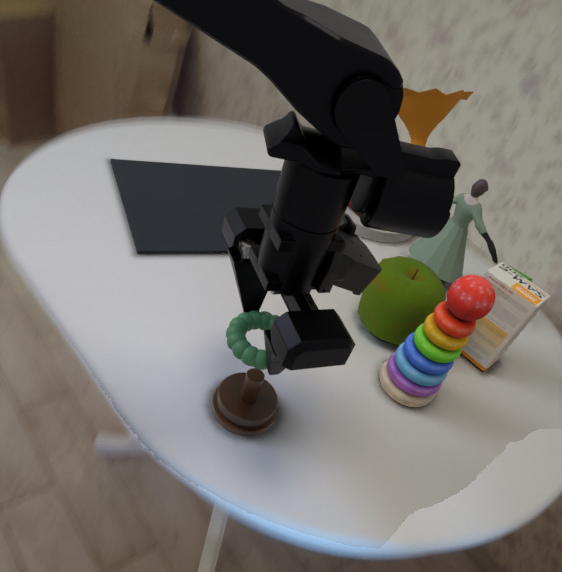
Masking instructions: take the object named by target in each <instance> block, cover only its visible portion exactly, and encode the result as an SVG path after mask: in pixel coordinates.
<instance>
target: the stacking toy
mask: <svg viewBox="0 0 562 572" xmlns="http://www.w3.org/2000/svg"><path fill="white" fill-rule="evenodd" d="M495 298H496V296H495V290H494V288H493V286H492V284H491V283H490V282H489V281H488V280H487V279H485V278H484V277H483V276H481V275H479V274H466V275H462V277H460V278H458V279H457V280H456V281H455V282H452V283H451V285H450V286H449V288H448V290H447V293H446V300H445V301H443V302H441V303H439V304H438V305H437V306H436V308H435V310H434V313H431V314H430V315H429V316H428V317H427V318H426V319H425V322H424V323H423V324H421V325H420V326H418V328H417V329H416V330H415V332H413V333H411V334H410V335H409V336H408V337H407V338H406V340H405V342H403V343H402V344H401V345H398V346H397V348H396V350H394V352H391V353H392V354H390V356H389V358H387V360H385V361H384V362H383V363H382V364H381V366H380V368H379V369H380V370H379V372H378V378H379V383H380V385H381V387H382V389H383V390H384V392H385V393H386V394H387V395H388V396H389V398H390V399H392V400H394V401H395V402H397V403H398V404H400V405H403V406H406V407H410V408H420V407H424V406H426V405H428V404H429V403H431V402H432V401H433V400H434V399H435V396H436V394H437V393H438V392H439V390H440V389H441V387H442V385H443V382H444V381H445V380H446V378H447V376H448V373H449V371H450V370H451V369H452V368H453V366H454V365H455V361H456V360H457V359H459V357H460V356H461V355H462V354H461V351H462V348H463V347H464V346H465V345H466V344H467V342H468V339H469V335H470V334H472V333H473V332H474V330H475V328H476V320H478V319H481V318H483V317H484V316H486V315H487V314H488V313H489V312H490V311H491V309H492V308H493V306H494V303H495Z"/></svg>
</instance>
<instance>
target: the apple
mask: <svg viewBox="0 0 562 572" xmlns="http://www.w3.org/2000/svg"><path fill="white" fill-rule="evenodd" d="M378 263H379V265H380V266H381V268H382V271H381V272H380V273H379V274H378V275H377V276H376V277H375V279H374V280H373V281H372V282H371V283H370V284H369V285H368V286H367V288H366V289H365V290H364V291H363V292H362V293H361V294H360V299H359V303H358V307H357V313H358V317H359V319H360V322H361V323H362V325H363V326H364V327H365V328H366V329H367V331H368V332H369V333H371V334H372V335H373V336H375V337H376V338H378V339H379V340H383V341H385V342H387V343H390V344H394V345H396V346H397V345H398V346H400V345H401V344H402V343H403V342H405V340H406V338H407V337H408V336H409V335H410V334H411V333H413V332H415V330H416V329H417V328H418V326H420V325H421V324H423V323H424V322H425V319H426V318H427V317H428V316H429V315H430V314H431V313H434V310H435V308H436V306H437V305H438V304H439V303H441V302H443V301H447V293H446V288H445V286H444V284H443V282H442V280H441V279H439V277H438V276H437V274H436V273H435V272H434V271H433V270H432V269H431V268H430V267H428V266H427V265H425V264H424V263H422V262H421V261H419V260H416V259H413V258H411V256H409V257H408V256H402V255H398V256H392V257H387V258H382V259H381V260H380V261H379V262H378Z"/></svg>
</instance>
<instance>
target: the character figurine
mask: <svg viewBox="0 0 562 572" xmlns="http://www.w3.org/2000/svg"><path fill="white" fill-rule="evenodd" d="M488 191H489V182H488V180H487V179H485V178H479V179H478V180H476V181H475V182H474V183H473V184H472V186H471V189H470V193H466V192H461V193H459V194H456V195H454V198H453V203H452V205H455V207H454V212H453V215H452V216H450V218H449V220H448V222H447V224H446V225H445V226H444V228H443V229H442V231H440V232H439V233H438V234H437V235H436V236H434V237H432V238H423V237H420V239H418V240H416V241H415V242H414V243H412V244H411V246H410V247H409V248H408V252H409V256H410V258H413V259H416V260H419V261H421V262H422V263H424V264H425V265H427V266H428V267H430V268H431V269H432V270H433V271H434V272H435V273H436V274H437V276H438V277H439V279H440V280H441V281H443V282H447V283H453V282H455V281H456V280H457V279H458V278H460V277H462V276H463V275H464V267H465V266H464V265H465V264H464V263H465V258H466V257H465V256H466V248H467V239H468V235H469V225H470V224H471V223H472V222H473V221H474V222H473V223H474V227H475V229H476V230H477V232H478V234H479V235H480V236H481V237H482V238H483V239H484V241H485V243H486V246H487V249H488V251H489V252H488V253H489V254H490V256H491V260H492V262H493V263H494V264H495V265H497V264H499V260H498V259H499V258H498V254H497V249H496V245H495V243H494V241H493V240H492V238H491V236H490V235H489V233H488V230H487V227H486V225H485V222H484V220H483V219H484V218H483V205H482V204H481V202H480V201H479V198H480V197H481V196H483V195H484V194H485V193H486V192H488Z"/></svg>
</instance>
